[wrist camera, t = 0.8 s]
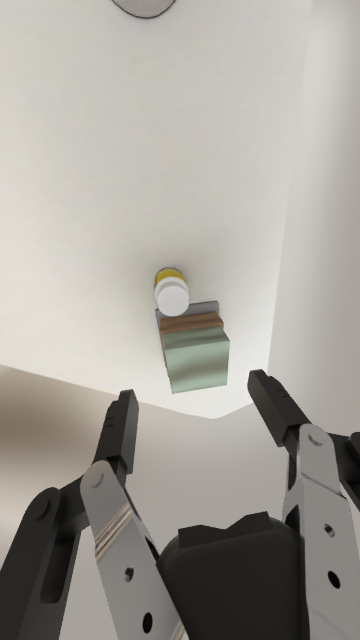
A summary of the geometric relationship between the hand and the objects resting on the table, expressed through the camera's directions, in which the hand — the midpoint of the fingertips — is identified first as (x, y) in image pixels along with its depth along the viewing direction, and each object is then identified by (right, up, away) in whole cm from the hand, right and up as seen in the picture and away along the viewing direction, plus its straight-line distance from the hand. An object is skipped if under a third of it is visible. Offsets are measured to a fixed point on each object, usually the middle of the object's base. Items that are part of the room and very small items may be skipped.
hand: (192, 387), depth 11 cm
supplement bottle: (-3, +11, +16) cm, 19 cm away
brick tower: (+1, +2, +21) cm, 21 cm away
